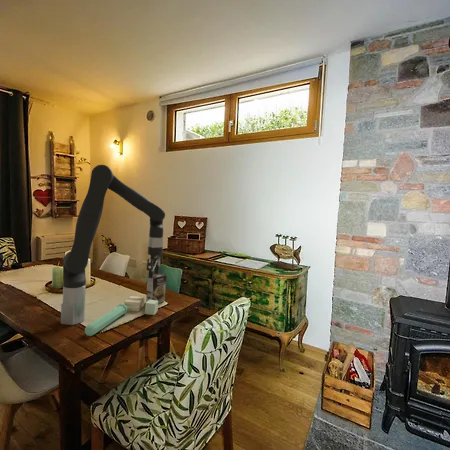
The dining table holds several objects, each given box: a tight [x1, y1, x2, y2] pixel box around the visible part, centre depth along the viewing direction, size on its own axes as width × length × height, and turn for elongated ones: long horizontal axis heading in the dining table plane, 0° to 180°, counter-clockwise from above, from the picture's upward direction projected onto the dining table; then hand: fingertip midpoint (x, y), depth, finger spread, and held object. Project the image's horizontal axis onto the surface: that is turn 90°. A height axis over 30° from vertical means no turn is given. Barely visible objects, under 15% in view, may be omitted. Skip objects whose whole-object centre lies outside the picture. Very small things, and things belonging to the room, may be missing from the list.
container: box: [84, 303, 128, 337], centre depth 125 cm, size 6×6×25 cm
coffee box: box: [145, 272, 167, 304], centre depth 156 cm, size 9×6×16 cm
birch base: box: [123, 295, 145, 312], centre depth 146 cm, size 8×8×5 cm
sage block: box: [144, 300, 159, 316], centre depth 142 cm, size 5×5×6 cm
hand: (153, 275), depth 140 cm, fingers open, 8 cm apart
